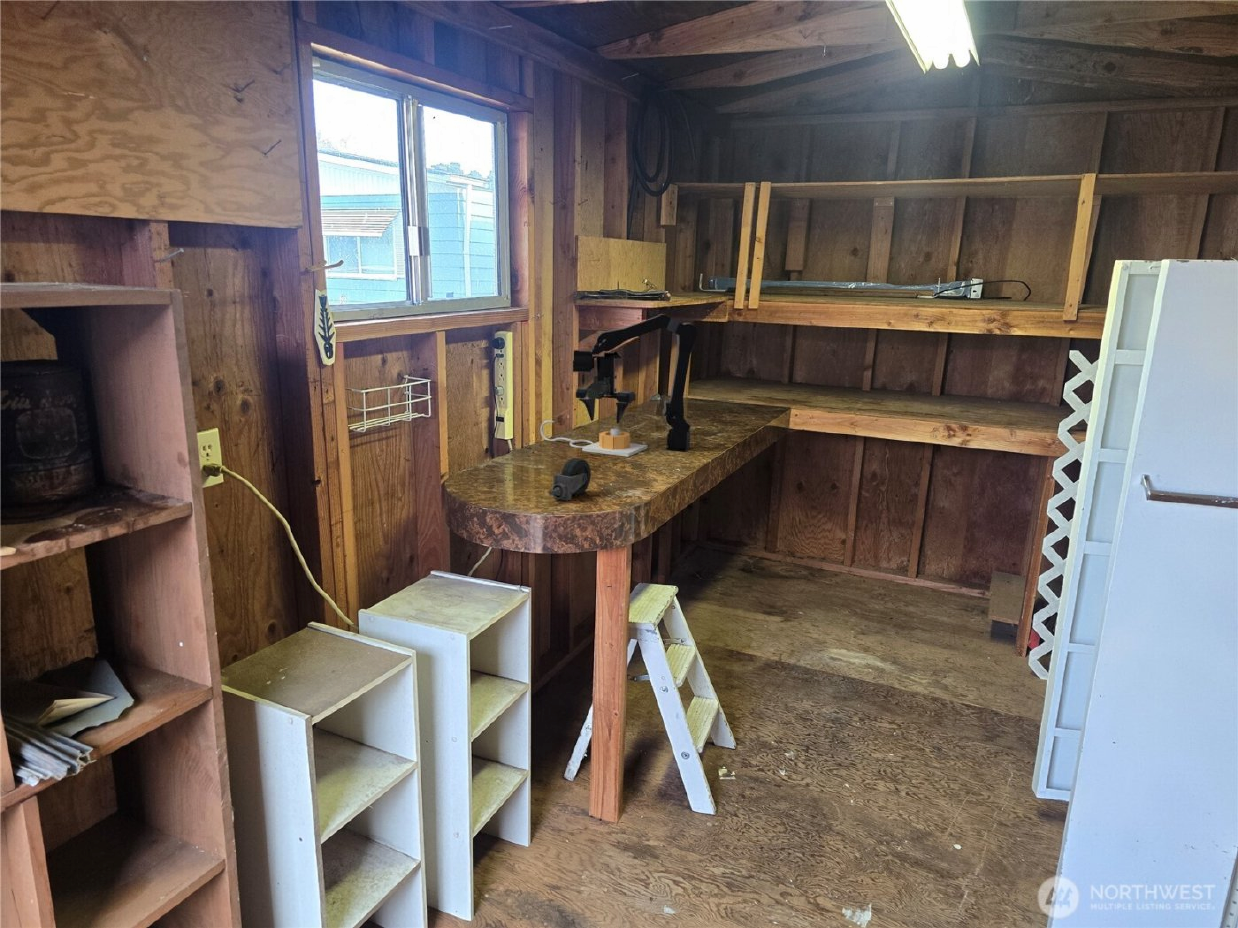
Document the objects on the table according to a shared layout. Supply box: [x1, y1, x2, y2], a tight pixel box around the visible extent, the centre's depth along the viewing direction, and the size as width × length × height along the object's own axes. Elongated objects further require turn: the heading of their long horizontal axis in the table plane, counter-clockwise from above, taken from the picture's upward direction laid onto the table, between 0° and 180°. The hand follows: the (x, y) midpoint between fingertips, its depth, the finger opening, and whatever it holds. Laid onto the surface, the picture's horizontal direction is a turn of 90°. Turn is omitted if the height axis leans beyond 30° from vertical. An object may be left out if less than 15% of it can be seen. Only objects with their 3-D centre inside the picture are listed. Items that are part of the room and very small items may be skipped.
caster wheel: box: [548, 457, 592, 502], centre depth 189 cm, size 6×10×15 cm
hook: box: [539, 419, 595, 449], centre depth 253 cm, size 7×9×20 cm
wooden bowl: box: [598, 430, 631, 450], centre depth 244 cm, size 9×9×4 cm
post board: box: [581, 427, 648, 458], centre depth 243 cm, size 16×14×6 cm
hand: (605, 421), depth 244 cm, fingers open, 9 cm apart
